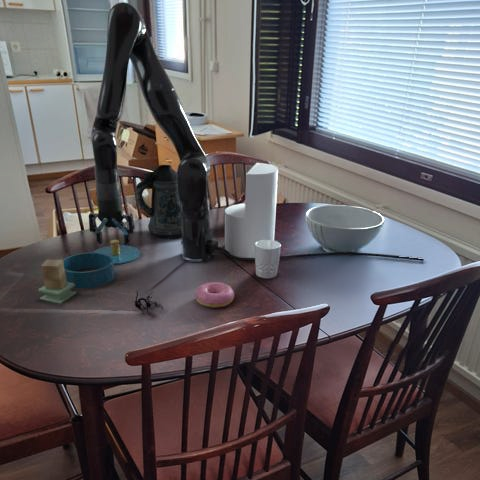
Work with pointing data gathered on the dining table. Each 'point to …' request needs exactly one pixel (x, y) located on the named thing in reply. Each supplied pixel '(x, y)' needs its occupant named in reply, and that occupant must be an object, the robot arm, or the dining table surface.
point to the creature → (146, 304)
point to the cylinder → (253, 212)
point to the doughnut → (214, 295)
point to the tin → (89, 277)
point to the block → (54, 274)
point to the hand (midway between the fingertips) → (113, 244)
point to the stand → (57, 293)
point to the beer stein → (162, 202)
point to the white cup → (267, 258)
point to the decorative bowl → (343, 227)
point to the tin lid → (119, 252)
